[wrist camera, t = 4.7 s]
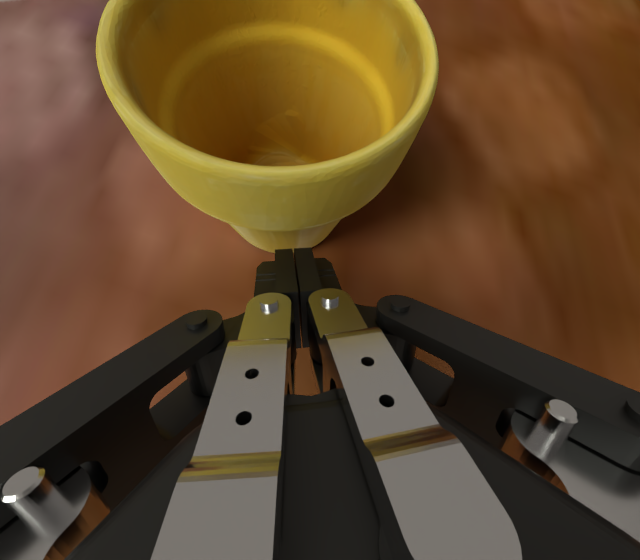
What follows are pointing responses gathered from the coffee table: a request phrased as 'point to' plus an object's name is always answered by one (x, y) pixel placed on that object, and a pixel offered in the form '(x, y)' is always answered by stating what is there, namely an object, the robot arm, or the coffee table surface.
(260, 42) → the plant pot
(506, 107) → the coffee table surface
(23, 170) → the coffee table surface
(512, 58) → the coffee table surface
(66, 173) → the coffee table surface
